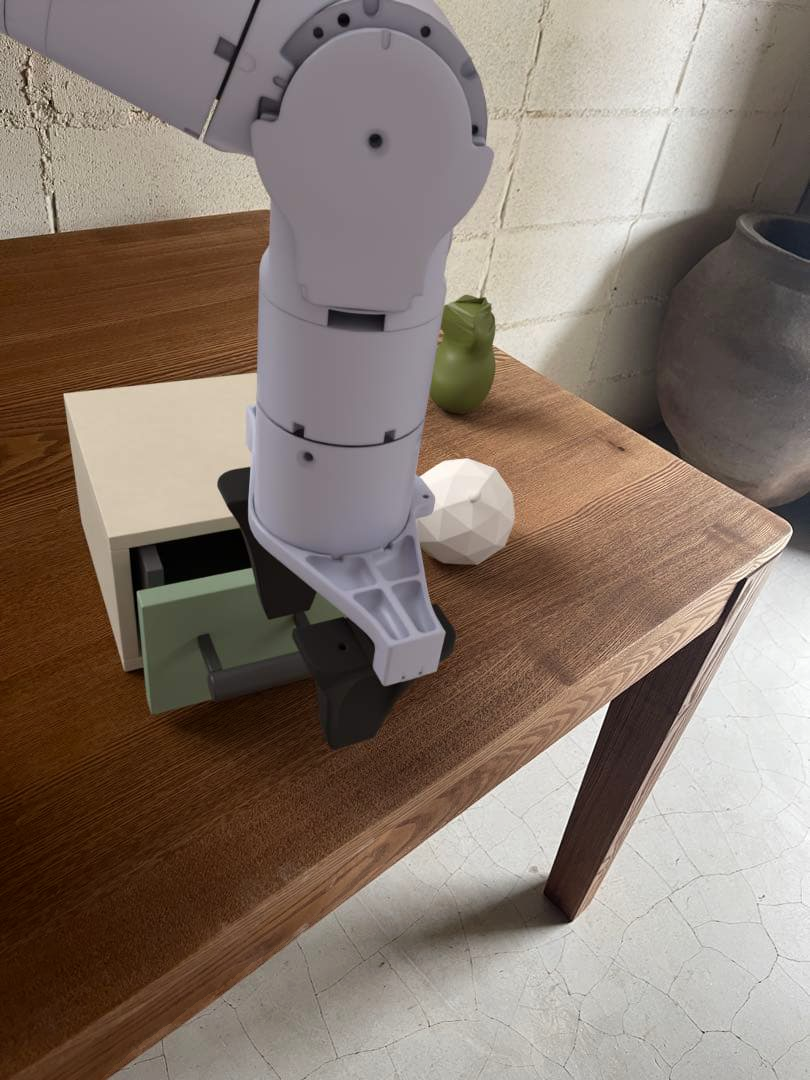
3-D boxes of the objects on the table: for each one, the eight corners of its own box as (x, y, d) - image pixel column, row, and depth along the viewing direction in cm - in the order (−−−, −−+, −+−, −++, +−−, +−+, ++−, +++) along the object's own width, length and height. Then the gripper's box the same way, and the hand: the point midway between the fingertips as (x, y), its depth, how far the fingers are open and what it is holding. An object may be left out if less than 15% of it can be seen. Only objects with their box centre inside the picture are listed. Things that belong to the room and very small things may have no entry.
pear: (497, 414, 74) (522, 306, 68) (454, 431, 71) (476, 320, 65) (452, 385, 77) (472, 279, 71) (409, 401, 74) (426, 291, 68)
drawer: (367, 718, 46) (384, 614, 41) (169, 776, 42) (161, 668, 37) (270, 530, 57) (274, 430, 52) (105, 561, 53) (92, 455, 48)
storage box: (323, 625, 53) (335, 498, 46) (124, 672, 48) (108, 537, 42) (254, 493, 62) (256, 372, 55) (81, 522, 57) (63, 393, 51)
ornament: (519, 538, 62) (554, 510, 54) (436, 594, 60) (460, 574, 52) (463, 458, 62) (490, 419, 54) (379, 511, 60) (394, 479, 53)
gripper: (557, 507, 26) (475, 774, 34) (364, 297, 35) (338, 548, 44) (340, 553, 23) (310, 832, 32) (194, 311, 32) (201, 576, 41)
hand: (316, 669), depth 38 cm, fingers open, 7 cm apart
